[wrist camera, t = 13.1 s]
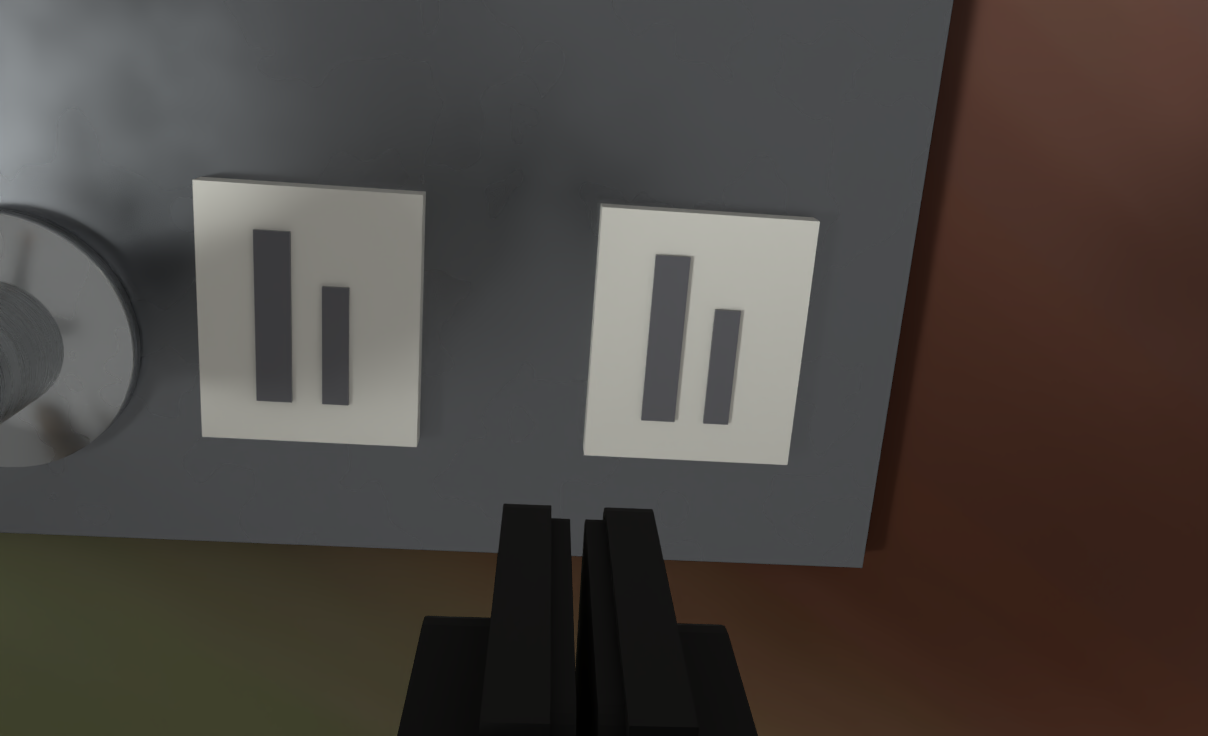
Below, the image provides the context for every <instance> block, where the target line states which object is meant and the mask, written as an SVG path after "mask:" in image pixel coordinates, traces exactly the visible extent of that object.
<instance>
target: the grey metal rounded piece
mask: <svg viewBox="0 0 1208 736" xmlns="http://www.w3.org/2000/svg"><path fill="white" fill-rule="evenodd" d="M140 363H141V339H140V331H139V326H138V322H137V318H136V314H135V311H134V309H133V306H132V304H131V301H130V299H129V296H128V294H127V293H126V291H125V289H124V287H123V286H122V284H121V282H120V280H119V279H118V278H117V276H116V275H115V273H114V272H113V271H112V269H111V268H110V267H109V265H108V264H107V263H106V262H105V261H104V260H103V259H102V258H101V257H100V256H99V255H98V254H97V253H96V252H95V251H94V250H93V249H92V248H91V247H89V246H88V245H87V244H86V243H85V242H83V241H82V240H81V239H79V238H78V237H76V236H75V235H73V234H72V233H70V232H69V231H67V230H66V229H64V228H62V227H60V226H58V225H56V224H54V223H52V222H50V221H48V220H45V219H42V218H40V217H37V216H34V215H31V214H27V213H23V212H19V211H15V210H9V209H1V208H0V467H28V466H35V465H42V464H46V463H49V462H53V461H57V460H59V459H62V458H64V457H67V456H69V455H71V454H73V453H75V452H77V451H78V450H80V449H82V448H84V447H85V446H87V445H88V444H89V443H90V442H92V441H93V440H94V439H96V438H97V437H98V436H99V435H100V434H101V433H103V432H104V431H105V430H106V429H107V428H108V427H109V426H110V425H111V424H112V423H113V422H114V421H115V420H116V419H117V418H118V417H119V415H120V414H121V412H122V411H123V409H124V408H125V406H126V405H127V403H128V401H129V399H130V397H131V395H132V393H133V391H134V388H135V385H136V382H137V379H138V376H139V369H140Z"/></svg>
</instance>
